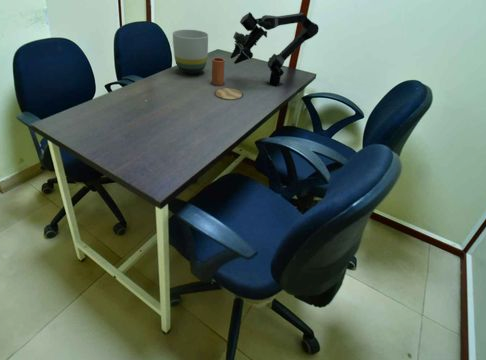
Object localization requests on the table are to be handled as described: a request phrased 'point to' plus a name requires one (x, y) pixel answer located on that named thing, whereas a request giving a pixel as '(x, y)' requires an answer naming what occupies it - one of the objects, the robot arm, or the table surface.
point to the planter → (190, 50)
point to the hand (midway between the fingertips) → (232, 60)
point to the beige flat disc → (228, 93)
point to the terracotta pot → (218, 71)
